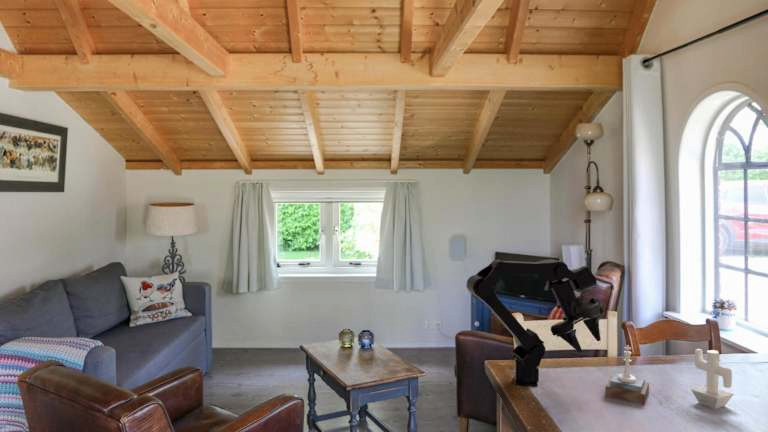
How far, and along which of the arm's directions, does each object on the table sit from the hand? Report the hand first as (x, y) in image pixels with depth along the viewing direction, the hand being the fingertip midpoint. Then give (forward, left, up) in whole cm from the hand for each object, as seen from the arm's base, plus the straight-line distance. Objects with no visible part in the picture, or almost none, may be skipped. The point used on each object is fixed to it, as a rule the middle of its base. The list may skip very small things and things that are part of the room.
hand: (589, 346), depth 148 cm
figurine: (+30, -9, -12) cm, 34 cm away
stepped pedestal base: (+9, -6, -12) cm, 16 cm away
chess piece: (+9, -6, -8) cm, 13 cm away
